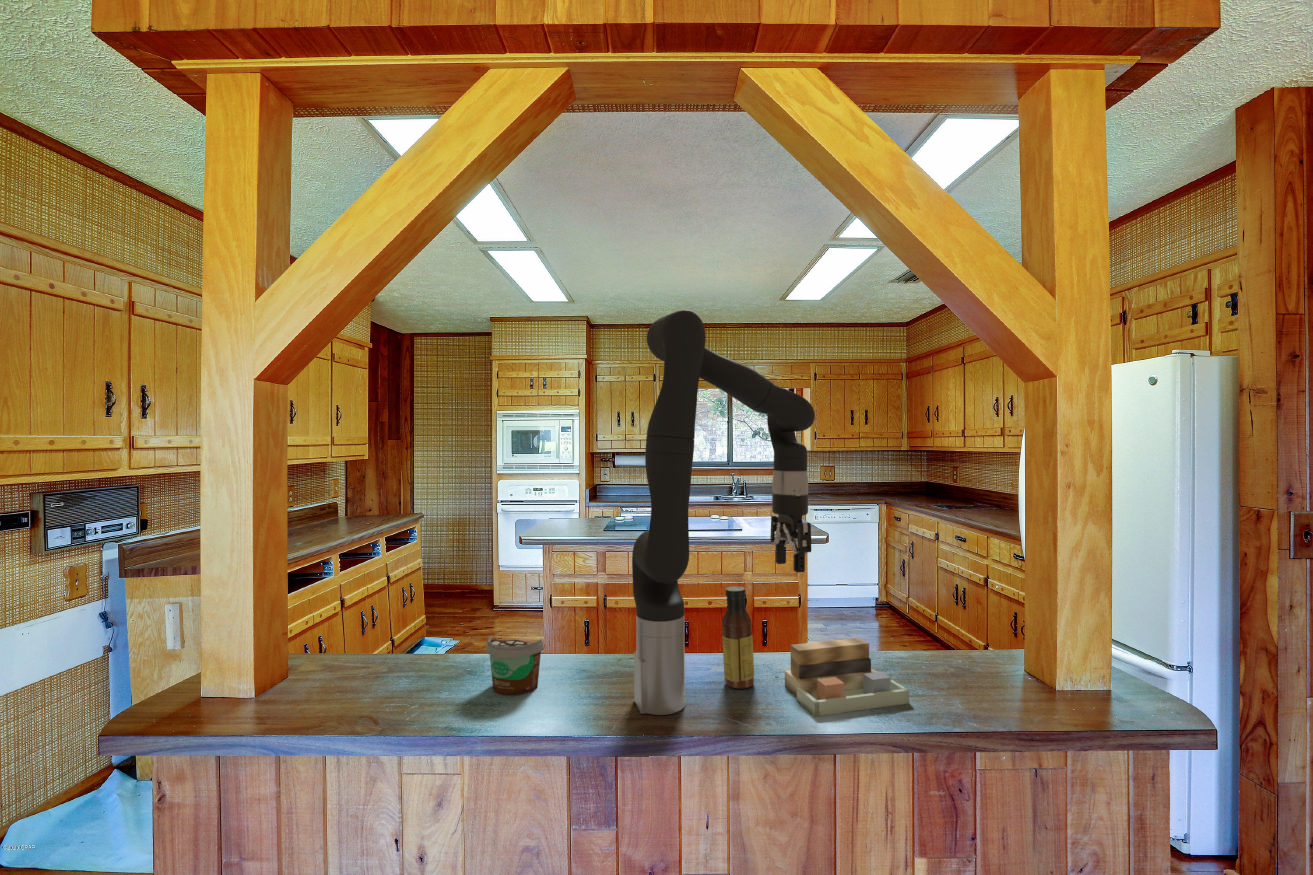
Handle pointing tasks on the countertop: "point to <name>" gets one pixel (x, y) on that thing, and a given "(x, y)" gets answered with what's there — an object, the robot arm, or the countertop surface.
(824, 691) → the salmon pink block
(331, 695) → the countertop surface
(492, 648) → the food container
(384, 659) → the countertop surface
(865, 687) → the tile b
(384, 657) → the countertop surface
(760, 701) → the countertop surface
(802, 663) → the brown and black bar
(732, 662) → the sauce bottle
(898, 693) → the tray
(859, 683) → the board
